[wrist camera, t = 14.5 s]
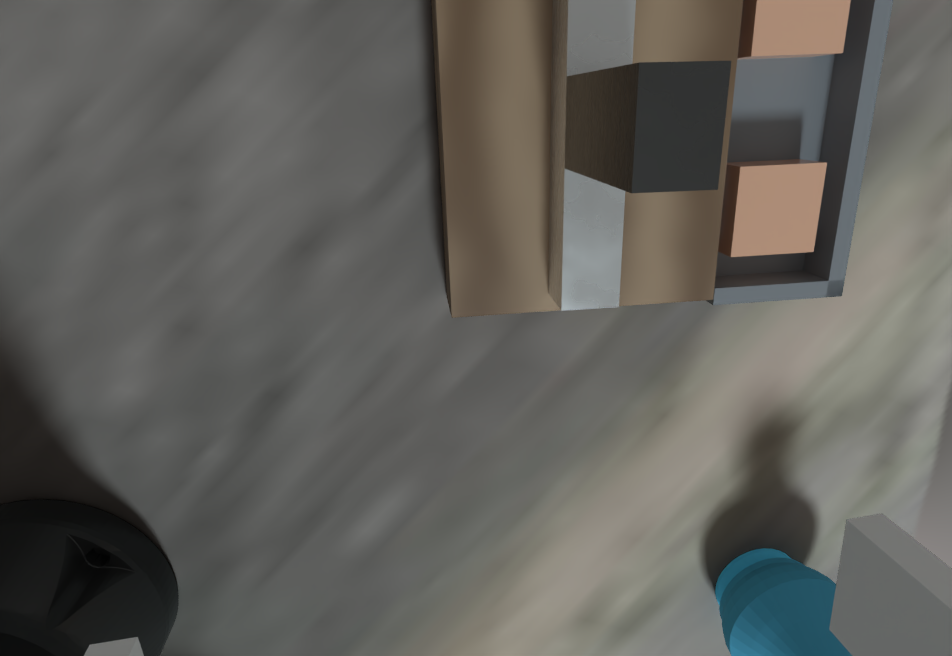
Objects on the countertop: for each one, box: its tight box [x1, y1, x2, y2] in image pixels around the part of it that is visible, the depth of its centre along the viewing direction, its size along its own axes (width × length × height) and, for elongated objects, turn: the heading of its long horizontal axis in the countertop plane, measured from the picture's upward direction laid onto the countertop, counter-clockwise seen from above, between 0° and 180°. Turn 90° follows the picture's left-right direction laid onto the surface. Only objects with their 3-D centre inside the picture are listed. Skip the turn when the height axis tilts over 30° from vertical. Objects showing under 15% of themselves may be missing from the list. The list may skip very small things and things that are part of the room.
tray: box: [706, 0, 893, 305], centre depth 34 cm, size 8×21×4 cm, turn 2°
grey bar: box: [548, 0, 731, 311], centre depth 26 cm, size 3×18×12 cm, turn 1°
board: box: [431, 0, 743, 318], centre depth 33 cm, size 15×20×4 cm
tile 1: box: [718, 159, 827, 257], centre depth 36 cm, size 5×5×2 cm
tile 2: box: [737, 0, 851, 60], centre depth 32 cm, size 5×5×2 cm
